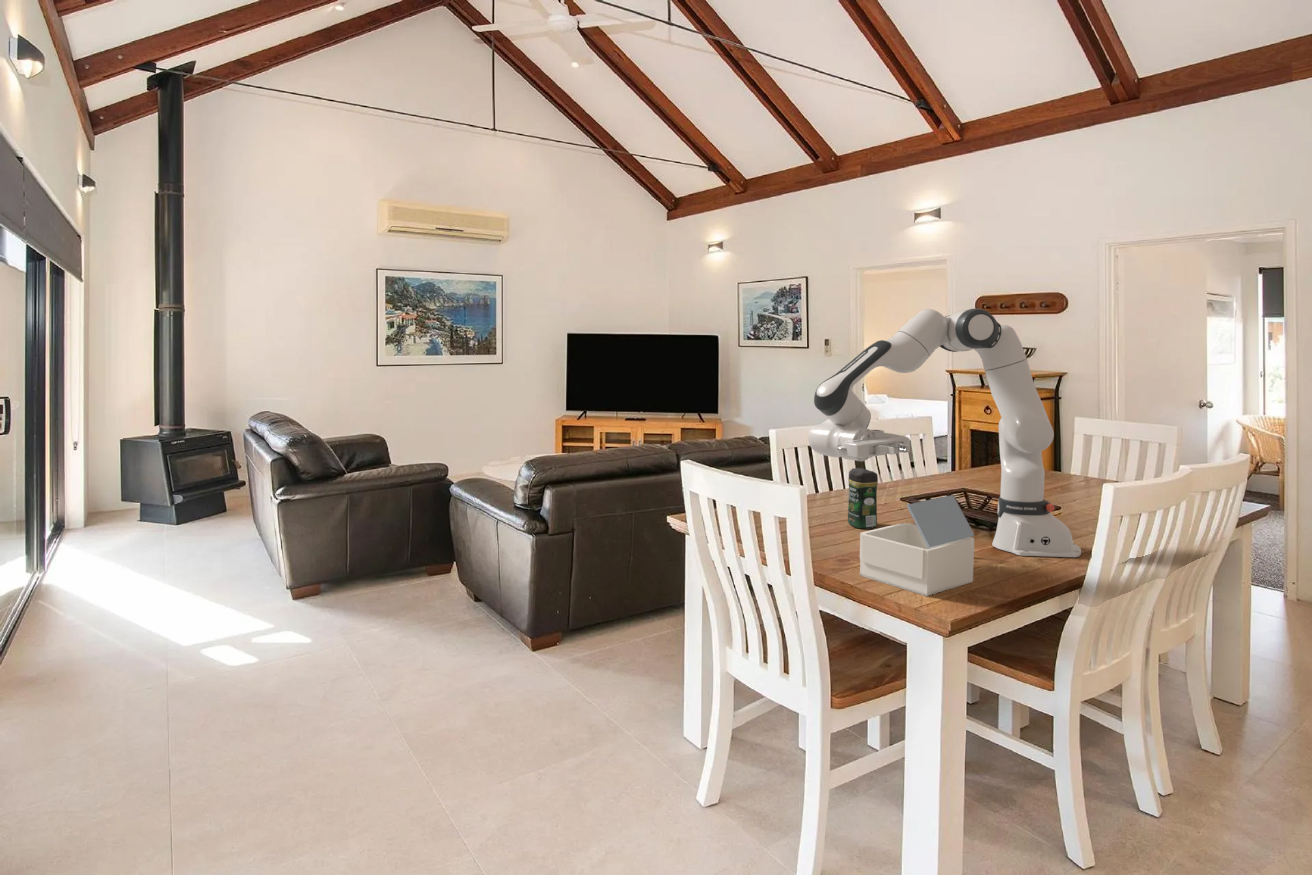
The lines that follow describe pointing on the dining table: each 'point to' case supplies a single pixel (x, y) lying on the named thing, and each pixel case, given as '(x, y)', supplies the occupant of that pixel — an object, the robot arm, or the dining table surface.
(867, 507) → the coffee jar
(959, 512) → the lid flap
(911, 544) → the carton
